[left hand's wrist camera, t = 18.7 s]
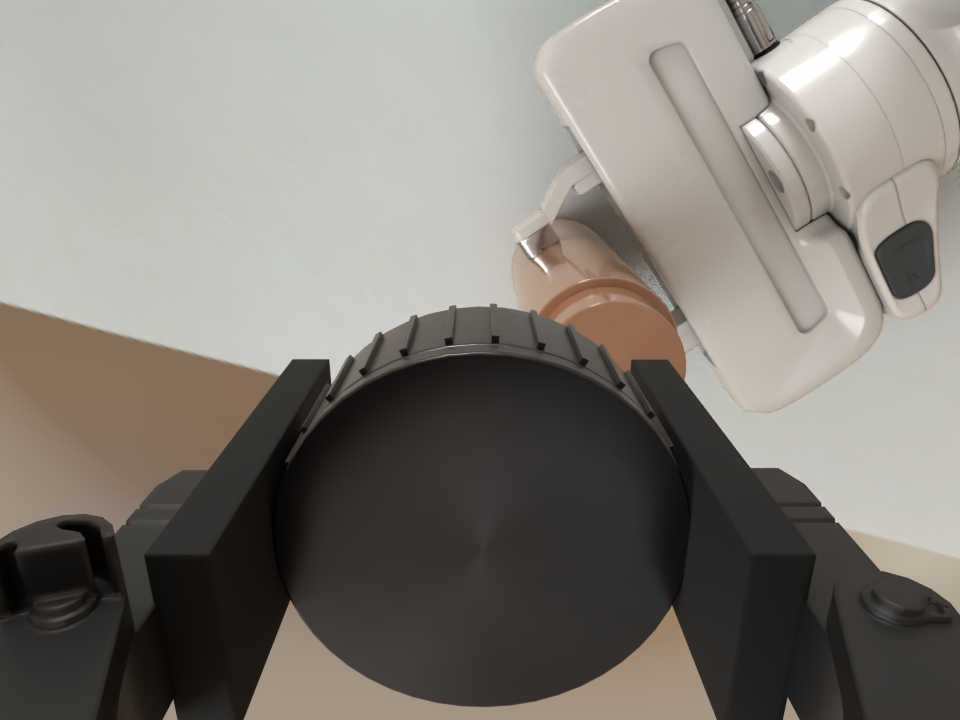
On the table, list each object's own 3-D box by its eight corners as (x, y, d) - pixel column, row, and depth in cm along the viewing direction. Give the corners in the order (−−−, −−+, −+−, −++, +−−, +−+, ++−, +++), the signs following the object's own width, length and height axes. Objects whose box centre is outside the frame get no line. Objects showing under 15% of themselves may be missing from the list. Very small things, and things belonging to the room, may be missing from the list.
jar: (491, 267, 38) (495, 372, 22) (562, 197, 37) (620, 255, 21) (557, 332, 39) (606, 476, 23) (627, 266, 38) (730, 372, 22)
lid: (571, 651, 14) (589, 753, 11) (265, 555, 13) (221, 645, 11) (722, 379, 12) (778, 440, 9) (368, 244, 11) (340, 278, 9)
